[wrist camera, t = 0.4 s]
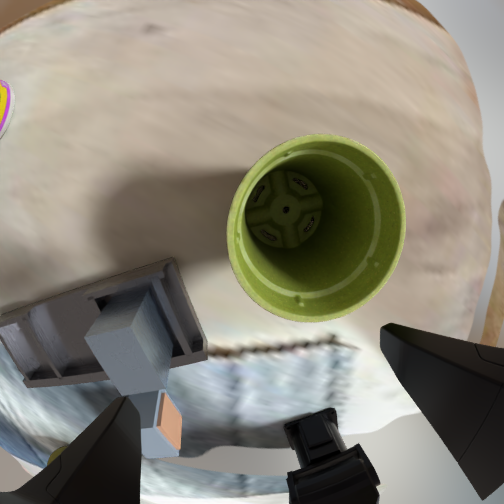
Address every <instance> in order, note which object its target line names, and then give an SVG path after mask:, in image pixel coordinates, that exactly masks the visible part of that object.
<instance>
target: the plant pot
mask: <svg viewBox="0 0 504 504" xmlns="http://www.w3.org/2000/svg"><path fill="white" fill-rule="evenodd" d="M295 178H296V179H299V180H301V181H303V182H304V183H305V184H307V187H308V188H307V189H304V188H303V187H302V186H301V185H299V184H298V183H296V182H295V181H293V179H295ZM261 186H264V187H265V189H264V190H263V191H262V192H261V194H260V195H259V197H258V199H257V202H254V200H253V198H254V197H255V195H256V193H257V190H258V189H259V188H260V187H261ZM286 206H287V207H289V211H288V212H287V213H284V212H283V208H284V207H286ZM312 216H313V217H314V219H315V220H314V222H313V224H312V226H311V228H310V229H309V230H308V231H306V232H305V231H304V229H305V227H306V226H307V225H308V224H309V222H310V221H311V218H312ZM405 227H406V216H405V207H404V202H403V198H402V194H401V191H400V188H399V186H398V183H397V181H396V179H395V177H394V176H393V174H392V172H391V171H390V169H389V168H388V167H387V165H386V164H385V163H384V162H383V161H382V159H381V158H380V157H379V156H378V155H376V154H375V153H374V152H373V151H371V150H370V149H368V148H367V147H366V146H364V145H362V144H360V143H359V142H357V141H354V140H352V139H349V138H346V137H342V136H337V135H332V134H312V135H305V136H301V137H297V138H294V139H291V140H288V141H286V142H284V143H282V144H280V145H278V146H276V147H275V148H273V149H271V150H270V151H269V152H267V153H266V154H265V155H264V156H262V157H261V158H260V159H259V160H258V161H257V162H256V163H255V164H254V165H253V166H252V167H251V168H250V170H249V171H248V172H247V174H246V175H245V177H244V178H243V180H242V181H241V183H240V185H239V187H238V189H237V191H236V193H235V195H234V198H233V200H232V203H231V206H230V210H229V214H228V220H227V229H226V240H227V250H228V255H229V260H230V263H231V267H232V270H233V272H234V274H235V276H236V278H237V280H238V282H239V284H240V285H241V287H242V288H243V289H244V291H245V292H246V293H247V294H248V295H249V297H250V298H251V299H252V300H253V301H254V302H256V303H257V304H258V305H259V306H261V307H262V308H264V309H265V310H267V311H269V312H271V313H272V314H274V315H277V316H279V317H282V318H285V319H288V320H292V321H297V322H323V321H328V320H332V319H336V318H340V317H343V316H345V315H347V314H349V313H351V312H353V311H355V310H357V309H358V308H360V307H361V306H363V305H364V304H365V303H367V302H368V301H369V300H370V299H372V298H373V297H374V296H375V295H376V294H377V293H378V292H379V291H380V290H381V289H382V288H383V286H384V285H385V284H386V282H387V281H388V279H389V278H390V276H391V274H392V273H393V271H394V269H395V267H396V265H397V263H398V260H399V258H400V254H401V251H402V248H403V243H404V238H405ZM261 230H265V231H266V232H267V233H269V234H270V235H272V236H275V237H276V238H277V240H270V239H268V238H267V237H265V236H264V235H263V234H262V233H261Z"/></svg>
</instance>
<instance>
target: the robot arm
mask: <svg viewBox="0 0 504 504" xmlns="http://www.w3.org/2000/svg"><path fill="white" fill-rule="evenodd" d="M380 348H381V351H382V353H383V354H384V356H385V358H386V359H387V361H388V363H389V364H390V366H391V368H392V370H393V371H394V373H395V375H396V377H397V378H398V380H399V382H400V383H401V384H402V386H403V387H404V389H405V390H406V391H407V393H408V394H409V395H410V397H411V398H412V399H413V401H414V402H415V403H416V405H417V406H418V407H419V409H420V410H421V412H422V413H423V414H424V416H425V417H426V418H427V420H428V421H429V422H430V424H431V425H432V427H433V428H434V430H435V431H436V432H437V434H438V435H439V436H440V438H441V439H442V441H443V442H444V444H445V445H446V447H447V448H448V450H449V451H450V452H451V454H452V455H453V457H454V458H455V460H456V461H457V462H458V464H459V466H460V467H461V469H462V470H463V472H464V473H465V475H466V476H467V478H468V480H469V481H470V483H471V484H472V486H473V487H474V489H475V490H476V492H477V494H478V495H479V497H480V498H481V499H482V500H484V499H486V498H487V497H488V496H489V495H490V494H492V493H493V492H494V491H495V490H496V489H498V488H499V487H500V486H501V485H502V484H503V483H504V348H498V347H492V346H487V345H482V344H477V343H475V344H474V343H472V342H468V341H464V340H460V339H455V338H451V337H447V336H443V335H438V334H434V333H430V332H426V331H422V330H418V329H414V328H410V327H406V326H402V325H398V324H395V323H388V324H386V325H384V326H382V327H381V329H380ZM284 430H285V433H286V435H287V438H288V441H289V443H290V446H291V448H292V450H295V451H296V454H297V458H298V461H299V464H300V467H301V469H298V470H296V471H290V472H287V475H288V478H287V479H286V480H287V484H288V488H289V504H379V496H380V495H379V493H378V490H377V488H376V486H378V485H380V480H379V478H378V475H377V473H376V471H375V469H374V467H373V465H372V464H371V462H370V460H369V459H368V457H367V455H366V454H365V453H364V451H363V449H362V447H361V446H360V444H359V443H358V444H356V445H355V446H354V447H352V448H349V449H347V448H346V446H345V443H344V441H343V439H342V437H341V435H340V433H339V431H338V423H337V413H336V410H335V408H331V409H328V410H326V411H323V412H320V413H317V414H315V415H312V416H309V417H306V418H303V419H300V420H297V421H294V422H291V423H288V424H285V425H284ZM141 456H142V445H141V417H140V413H139V411H138V410H137V408H136V407H135V406H134V404H133V403H132V401H131V400H130V399H129V398H128V397H118V398H116V399H115V400H114V401H113V402H112V403H111V404H110V405H109V406H108V407H107V408H106V409H105V410H104V411H103V412H102V413H101V414H100V415H99V416H98V417H97V418H96V419H95V420H94V421H93V422H92V423H91V424H90V425H89V426H88V427H87V428H86V429H85V430H84V431H83V432H82V433H81V434H80V435H79V436H78V437H77V438H76V439H75V440H74V441H73V442H72V443H71V444H70V445H69V446H67V447H66V448H65V449H64V450H63V451H62V452H61V455H60V454H59V455H58V456H57V457H56V458H55V459H54V460H53V461H52V462H51V463H50V464H49V465H48V466H47V467H45V468H44V469H43V470H42V471H41V472H39V473H38V474H37V475H36V476H34V477H33V478H32V479H31V480H29V481H28V482H27V483H25V484H24V485H23V486H22V487H20V488H19V489H17V490H15V491H12V492H0V504H140V477H141Z"/></svg>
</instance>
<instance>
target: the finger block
mask: <svg viewBox="0 0 504 504" xmlns="http://www.w3.org/2000/svg"><path fill="white" fill-rule="evenodd" d="M128 398H129V399H130V400H131V401H132V403H133V404H134V406H135V407H136V408H137V410H138V411H139V413H140V417H141V445H142V454H143V455H144V456H145V457H146V458H147V459H149V458H164V457H176V456H179V449H181V427H182V416H181V412H180V411H179V410H178V408H177V407H176V405H175V404H174V402H173V401H172V399H171V398H170V396H169V395H168V393H167V392H166V390H165V389H162V390H157V391H151V392H145V393H138V394H131V395H129V396H128Z"/></svg>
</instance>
